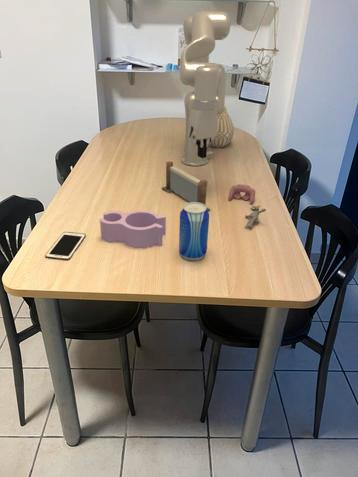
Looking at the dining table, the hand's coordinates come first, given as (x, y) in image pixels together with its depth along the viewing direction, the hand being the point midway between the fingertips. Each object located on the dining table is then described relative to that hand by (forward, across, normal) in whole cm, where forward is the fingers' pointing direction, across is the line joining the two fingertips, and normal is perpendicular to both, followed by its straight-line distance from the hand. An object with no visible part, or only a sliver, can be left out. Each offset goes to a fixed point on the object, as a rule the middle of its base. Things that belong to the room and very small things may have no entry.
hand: (201, 156), depth 144 cm
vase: (+16, -47, -46) cm, 68 cm away
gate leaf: (+15, +6, -2) cm, 17 cm away
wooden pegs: (+17, +6, -2) cm, 18 cm away
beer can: (+18, +26, +29) cm, 43 cm away
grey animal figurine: (+17, -4, +26) cm, 32 cm away
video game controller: (+17, -13, +10) cm, 23 cm away
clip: (+18, +36, +11) cm, 41 cm away
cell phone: (+18, +56, +4) cm, 59 cm away
